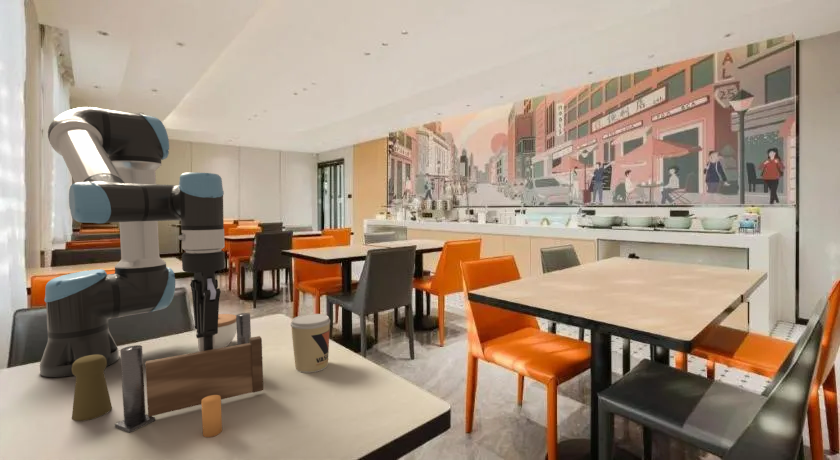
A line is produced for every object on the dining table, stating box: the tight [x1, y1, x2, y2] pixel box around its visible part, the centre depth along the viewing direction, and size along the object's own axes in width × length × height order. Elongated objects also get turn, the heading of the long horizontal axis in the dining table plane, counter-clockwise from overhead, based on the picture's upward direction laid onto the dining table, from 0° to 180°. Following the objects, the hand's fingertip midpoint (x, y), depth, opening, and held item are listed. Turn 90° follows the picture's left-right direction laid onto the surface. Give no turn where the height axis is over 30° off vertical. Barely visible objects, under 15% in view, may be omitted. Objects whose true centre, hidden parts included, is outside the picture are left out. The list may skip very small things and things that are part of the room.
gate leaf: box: [144, 335, 264, 417], centre depth 79 cm, size 2×20×11 cm, turn 122°
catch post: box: [201, 395, 223, 438], centre depth 70 cm, size 3×3×6 cm
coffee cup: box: [290, 313, 331, 374], centre depth 98 cm, size 9×9×12 cm
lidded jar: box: [195, 313, 237, 349], centre depth 114 cm, size 11×11×9 cm
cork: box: [71, 355, 113, 422], centre depth 77 cm, size 6×6×11 cm
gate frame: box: [114, 312, 252, 433], centre depth 83 cm, size 4×28×14 cm, turn 155°
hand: (207, 366), depth 81 cm, fingers closed
